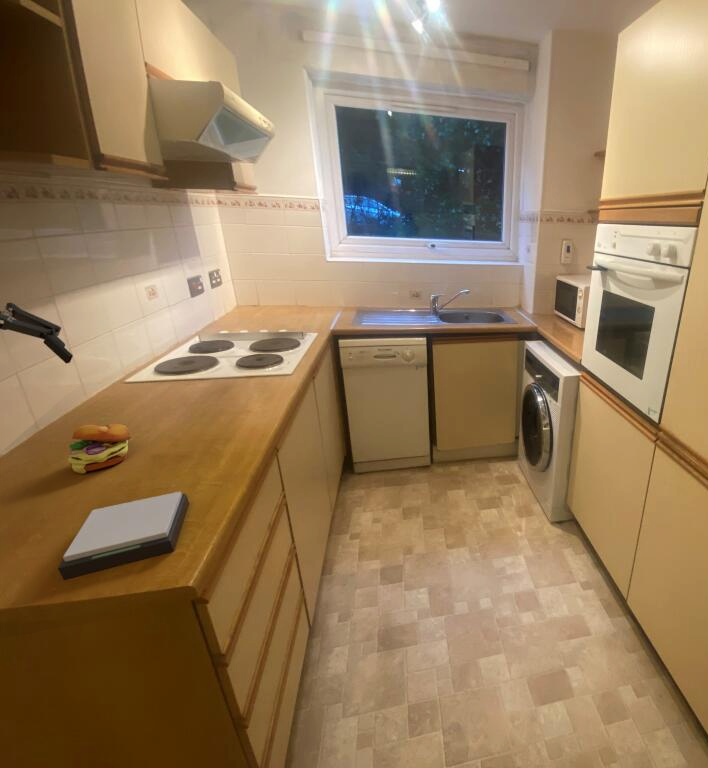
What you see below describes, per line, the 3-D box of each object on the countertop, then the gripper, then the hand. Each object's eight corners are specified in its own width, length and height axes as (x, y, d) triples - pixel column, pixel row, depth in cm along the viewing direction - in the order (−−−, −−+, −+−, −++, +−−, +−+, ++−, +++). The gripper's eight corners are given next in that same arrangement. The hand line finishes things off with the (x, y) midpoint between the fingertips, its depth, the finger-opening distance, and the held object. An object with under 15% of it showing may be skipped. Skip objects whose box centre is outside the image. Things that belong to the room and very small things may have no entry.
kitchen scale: (63, 579, 67) (55, 563, 66) (96, 524, 78) (89, 508, 77) (173, 551, 72) (168, 535, 71) (189, 503, 84) (184, 488, 83)
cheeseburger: (54, 473, 93) (48, 428, 91) (107, 458, 103) (102, 417, 102) (95, 477, 91) (90, 431, 90) (144, 461, 102) (140, 419, 100)
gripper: (22, 295, 103) (92, 361, 105) (-148, 321, 80) (-53, 403, 83) (28, 274, 99) (101, 342, 102) (-146, 294, 77) (-48, 381, 79)
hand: (32, 369), depth 92 cm, fingers open, 13 cm apart
